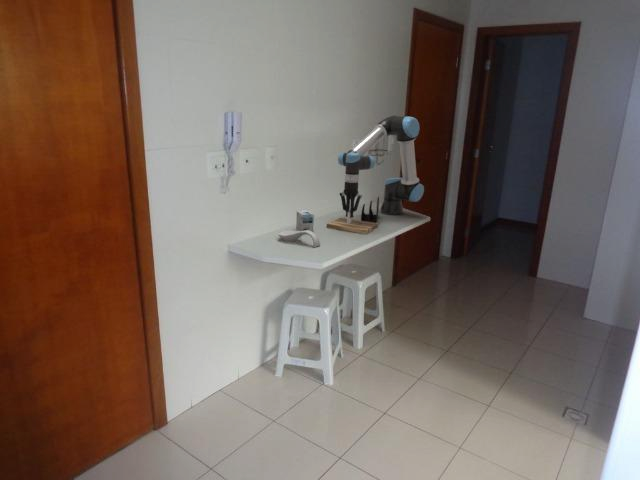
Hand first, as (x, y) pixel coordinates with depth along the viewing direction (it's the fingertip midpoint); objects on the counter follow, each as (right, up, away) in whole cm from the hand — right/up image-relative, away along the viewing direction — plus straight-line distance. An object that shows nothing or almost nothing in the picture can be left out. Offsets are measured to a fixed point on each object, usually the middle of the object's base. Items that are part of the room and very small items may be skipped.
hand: (349, 222), depth 265 cm
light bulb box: (-25, -5, -6) cm, 26 cm away
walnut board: (+5, -1, +11) cm, 12 cm away
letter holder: (+14, +3, +26) cm, 30 cm away
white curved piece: (-27, -11, -27) cm, 40 cm away
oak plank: (0, -3, +2) cm, 4 cm away
